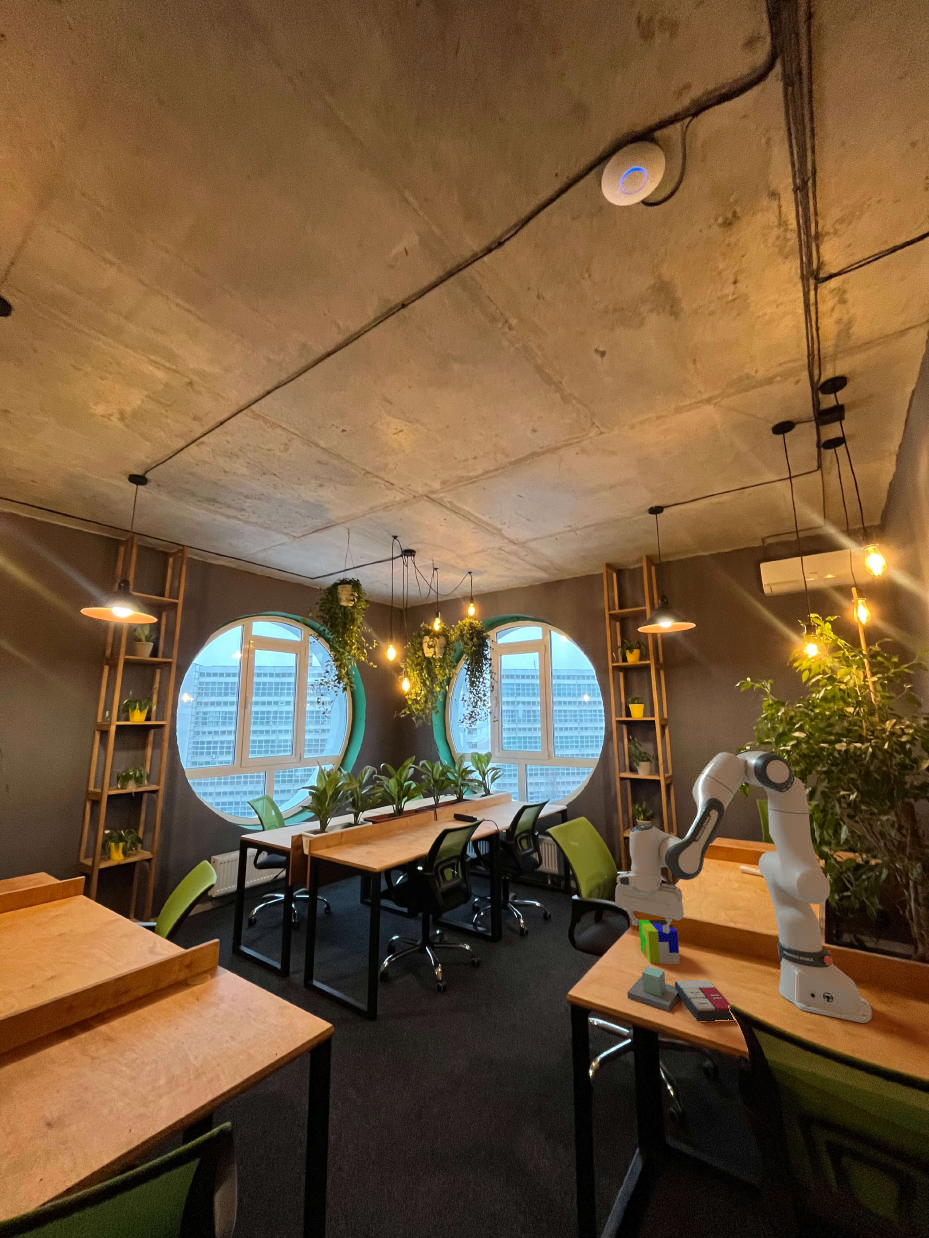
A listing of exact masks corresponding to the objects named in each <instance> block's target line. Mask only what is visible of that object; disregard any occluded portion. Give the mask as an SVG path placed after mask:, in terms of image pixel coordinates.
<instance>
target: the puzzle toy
mask: <svg viewBox="0 0 929 1238" xmlns="http://www.w3.org/2000/svg"><path fill="white" fill-rule="evenodd" d="M667 922H668V921H665V919H638V926H639V943H640V945H639V946H640V951H641V952H642V954H643V955H644V957H645V958H646V959H647V961H648V963H650V964H678V965H680V963H681V960H680V950H679V949H680V947H679V935H678V933H679V932H678V930H677V929H676V928H675V927H673V925H672V924H670V925H669V933H664V932H663V929H662V926H663V925H666V924H667Z"/></svg>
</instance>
